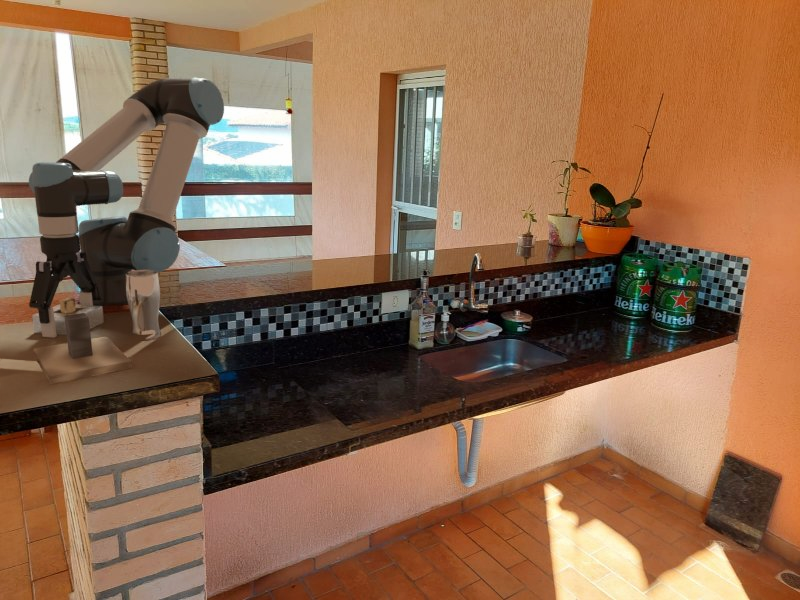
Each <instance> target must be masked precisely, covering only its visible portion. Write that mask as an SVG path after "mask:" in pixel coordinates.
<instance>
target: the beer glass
mask: <svg viewBox="0 0 800 600" xmlns="http://www.w3.org/2000/svg"><path fill="white" fill-rule="evenodd" d="M159 280H160V279H159V272H157V271H155V270H132V271H129V272H127V273H126V296H127V301H128V305H127V306H128V308H129V311H130V315H131V319H132V334H135V335H139V336H141V335H143V336H145V335H148V336H147V337H145V338H144V339H142V340H141V342H146V341H154V340H157V339H160V337H162V332H161V328H160V325H159V312H160V304H161V287H160V281H159Z"/></svg>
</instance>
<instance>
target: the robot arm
mask: <svg viewBox="0 0 800 600" xmlns="http://www.w3.org/2000/svg"><path fill="white" fill-rule="evenodd" d="M224 114H225V104H224V99H223V97H222V93H221V91H220V89H219V88H218V86H217V85H216V84H215V83H214V82H213V81H211V80H210V79H208V78H201V77H200V78H199V77H192V78H177V77H176V78H172V77H171V78H169V77H168V78H167V77H166V78H159V79H156V80H154V81H152V82H149V83H148V84H146V85H144V86H143V87H142V88H139V89H138V90H136V91H135V92H134V93H133V94H131V95H130V96H129V97H128V98H127V99H125V100H124V102H123V104H122V108H121V109H120V110H118V111H117V112H116V113H115V114H114V115H113V116H111V117H110V118H109V119H108V120H106V121H105V122H104V123H103V124H101V125H100V126H99V127H98V128H96V129H95V130H94V131H93V132H92V133H90V134H89V135H88V136H87V137H86V138H84V139H83V140H81V141H80V143H78V144H77V145H76V146H74V147H73V148H72V149H71V150H69V151H67V153H65V154H64V155H63V156H62V157H61V158H59V159H58V160H57V161H55V162H52V161H51V162H50V161H49V162H45V161H43V162H36V163H35V164H33V165H32V170H31V171H32V172H31V173H30V175H29V178H28V187H29V188H30V190H31V192H32V193H33V194H34V200H35V208H36V215H37V221H38V224H37V225H38V231H39V234H40V235H41V236H40V238H39V242H40V243H39V244H40V250H41V253H42V254H44V255H45V256H46V261H39V260H38V261H36V262H35V276H34V280H33V285H32V291H31V295H30V300H29V303H28V304H29V308H33V309H37V311H38V312H37V313H39V320H40V323H41V328H42V333H41V334H42V336H41V337H42V338H53V339H54V338H56V337H57V336H58V335H57V334H56V327H55V318H54V310H53V308H52V307H51V305H52V303H53V300H54V297H55V295H56V292H57V289H58V287H59V285H60V283H61V282H62V281H63V280H64V278H67V277H70V278H71V280H72V281H73V283H74V284H75V285H76V286H77V287H78V289H79V292H78V303H79V305H95V306H114V305H123V306H126V305H127V306H129V305H128V301H127V296H126V273H127V272H129V271H134V270H155V271H157V272H158V273H163V272H164V271H167V270H168V269H170V268H171V267H172V266H173V265H174V263H175V262H176V261H177V259H178V257H179V253H180V247H181V246H180V243H179V241H180V239H179V236H178V235H177V233H176V231H177V227H176V225H175V223H174V220H173V219H174V217H175V215H176V214H175V213H176V211H177V207H178V205H179V202H180V198H181V195H182V192H183V189H184V186H185V183H186V180H187V177H188V174H189V172H190V167H191V165H192V161H193V159H194V155H195V152H196V149H197V146H198V144H199V140H201V139H203V138H205V137H207V135H208V132H209V129H210V126H211V125H212V126H213V125H216V124H218V123H219V122H221V121H222V119H223V116H224ZM160 125H165V130H164V132H163V135H162V138H161V141H160V144H159V147H158V150H157V153H156V156H155V159H154V162H153V164H152V167H151V171H150V173H149V176H148V179H147V182H146V184H145V188H144V191H143V194H142V196H141V199H140V202H139V206H138V207H137V209H134V210H132V211H130V212H129V214H128V216H127V217H126V216H111V217H102V218H101V217H100V218H92V219H91V218H90V219H85V220H82V221H81V222H80V223H79V221H78V211H77V207H80V206H91V205H109V204H113V203H117V202H118V201H120V200H121V199H122V197H123V195H124V184H123V181H122V179H121V177H120V175H118V173H116V172H114V171H111V170H103V168H104V167H105V166H107V164H109V162H111V161H112V160H113V159H114V158H115V157H117V155H119V154H120V153H121V152H122V151H124V149H126V148H127V147H128V146H129V145H131V144H132V143H133V142H134V141H135V140H137V138H139V137H140V136H141V135H142V134H144V132H151V131H153V130H155V128H156V127H158V126H160Z"/></svg>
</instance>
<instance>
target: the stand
mask: <svg viewBox="0 0 800 600" xmlns="http://www.w3.org/2000/svg"><path fill="white" fill-rule="evenodd" d="M58 302H59V304H60V309H61V313H62V314H73V313H75V312H76V307H75V304H76V300H75V298H72V297H67V298H62V299H61V298H60V299H59V301H58Z"/></svg>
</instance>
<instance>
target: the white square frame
mask: <svg viewBox="0 0 800 600" xmlns="http://www.w3.org/2000/svg"><path fill="white" fill-rule="evenodd" d="M75 307H76V312H75V313H73V314H81V313H85V314H86V315H87V316H88V317H89V324H90V330H91V329H93V328H95V327H97V326H99V325H101V324H103V323H105V321H104V320H105V319H104V310H103V305H80V303H79V304H77V303H75ZM51 308H53V310H54V318H55V327H56V335H62V336H67V334H66V325H65V317H64V316H66V315H73V314H62V313H61V309H60V303H59V304H57V305H54V306H52V307H51ZM31 317H32V324H33V331H34V333H35V334H42V328H41V323H40V320H39V312H37V313H34V314H32V315H31Z"/></svg>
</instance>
